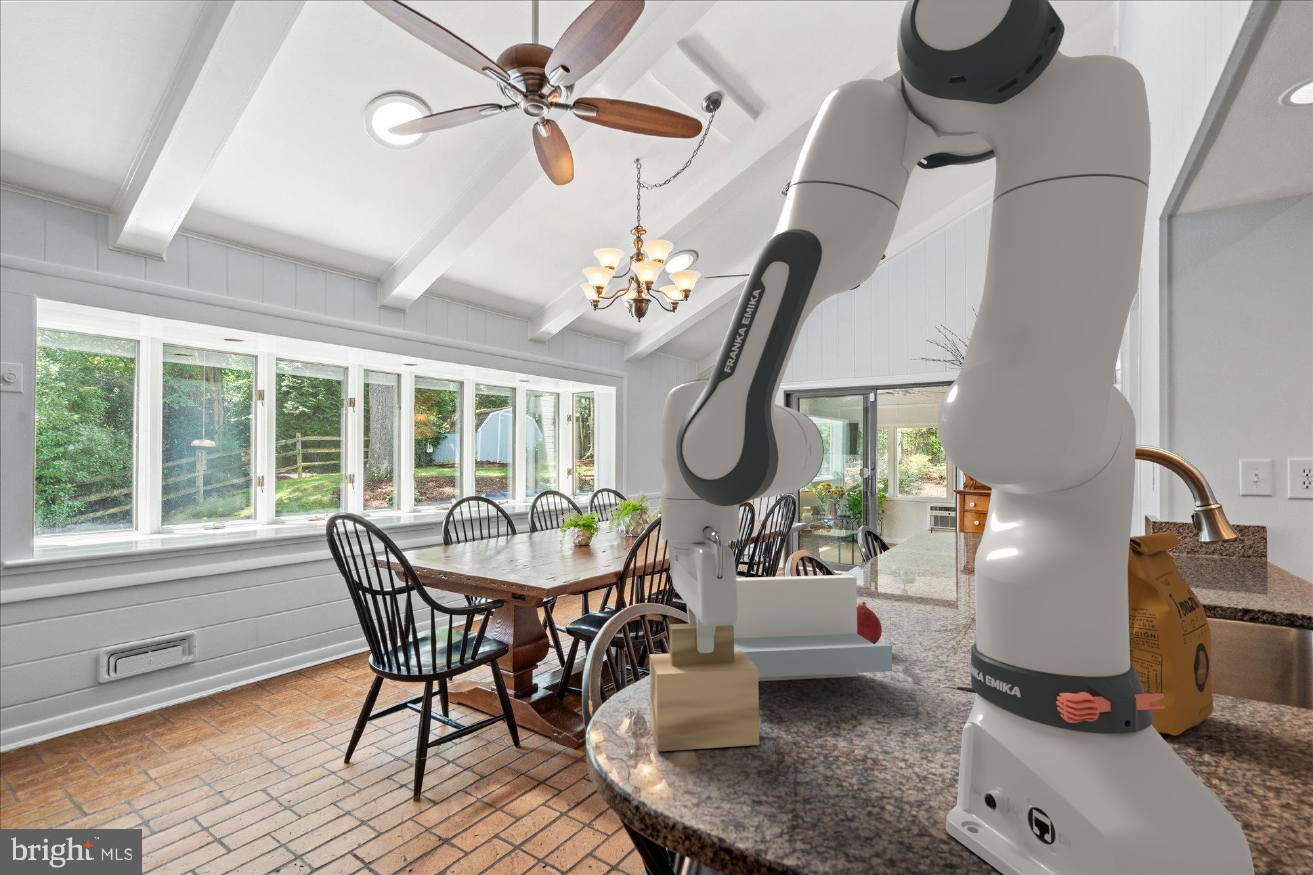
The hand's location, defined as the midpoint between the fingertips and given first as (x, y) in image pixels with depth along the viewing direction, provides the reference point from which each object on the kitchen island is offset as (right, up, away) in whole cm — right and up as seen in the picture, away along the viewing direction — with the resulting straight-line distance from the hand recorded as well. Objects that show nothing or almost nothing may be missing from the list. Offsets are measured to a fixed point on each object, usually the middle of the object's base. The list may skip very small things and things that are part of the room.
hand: (701, 646), depth 70 cm
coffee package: (+54, -10, +3) cm, 55 cm away
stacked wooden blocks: (0, -10, 0) cm, 10 cm away
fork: (+36, -11, +13) cm, 40 cm away
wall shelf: (+14, -10, +14) cm, 22 cm away
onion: (+28, -11, +30) cm, 43 cm away
